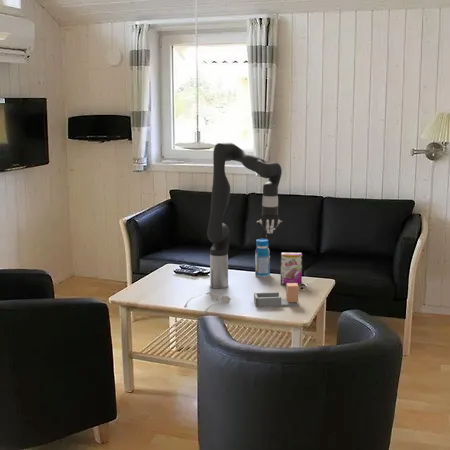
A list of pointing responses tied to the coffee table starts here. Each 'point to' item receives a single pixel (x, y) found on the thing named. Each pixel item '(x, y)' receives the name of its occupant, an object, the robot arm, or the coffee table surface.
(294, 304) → the chute
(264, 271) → the beverage bottle
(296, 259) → the candy bar box
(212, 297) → the eyeglasses
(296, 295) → the block
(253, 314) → the coffee table surface
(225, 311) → the coffee table surface
